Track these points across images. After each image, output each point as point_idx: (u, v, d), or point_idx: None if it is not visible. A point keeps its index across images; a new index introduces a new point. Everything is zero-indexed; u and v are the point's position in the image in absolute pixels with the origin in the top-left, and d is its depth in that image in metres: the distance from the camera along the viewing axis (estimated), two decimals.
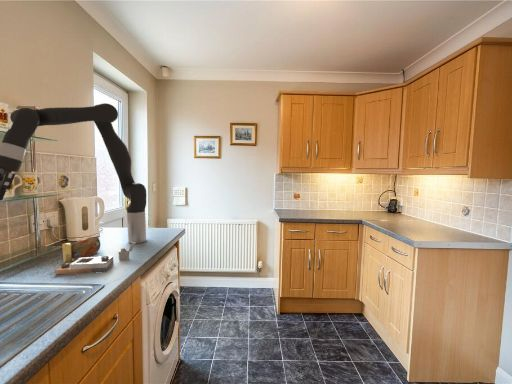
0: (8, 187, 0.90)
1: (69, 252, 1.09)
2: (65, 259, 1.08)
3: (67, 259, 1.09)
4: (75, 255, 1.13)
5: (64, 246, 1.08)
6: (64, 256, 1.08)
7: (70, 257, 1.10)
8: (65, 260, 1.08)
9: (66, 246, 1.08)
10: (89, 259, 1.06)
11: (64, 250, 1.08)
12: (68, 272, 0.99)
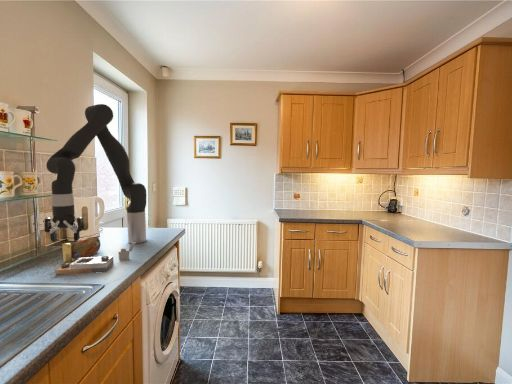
0: (83, 229, 1.10)
1: (69, 252, 1.09)
2: (65, 259, 1.08)
3: (67, 259, 1.09)
4: (75, 255, 1.13)
5: (64, 246, 1.08)
6: (64, 256, 1.08)
7: (70, 257, 1.10)
8: (65, 260, 1.08)
9: (66, 246, 1.08)
10: (89, 259, 1.06)
11: (64, 250, 1.08)
12: (68, 272, 0.99)
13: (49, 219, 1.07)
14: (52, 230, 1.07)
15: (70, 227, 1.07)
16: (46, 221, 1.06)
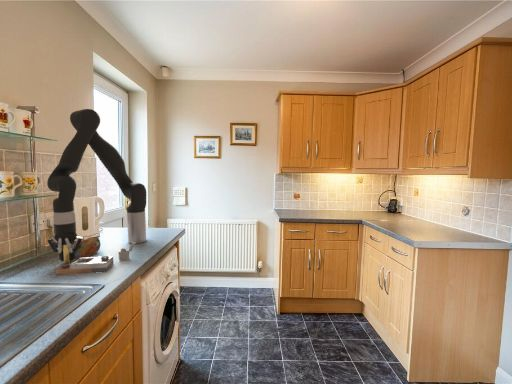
0: (79, 248, 1.11)
1: (69, 252, 1.09)
2: (65, 259, 1.08)
3: (67, 259, 1.09)
4: None
5: (64, 246, 1.08)
6: (64, 256, 1.08)
7: None
8: (65, 260, 1.08)
9: (66, 246, 1.08)
10: (89, 259, 1.06)
11: (64, 250, 1.08)
12: (68, 272, 0.99)
13: (52, 239, 1.08)
14: (60, 249, 1.08)
15: (68, 246, 1.08)
16: (50, 242, 1.07)
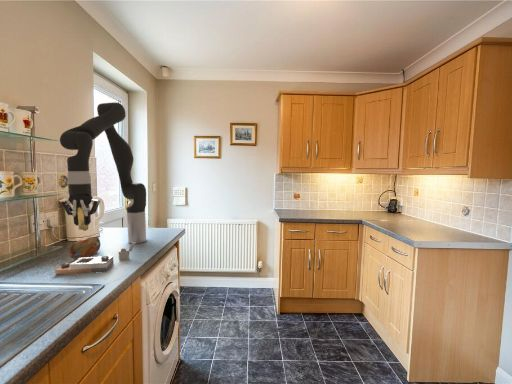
0: (94, 212, 1.03)
1: None
2: (80, 223, 1.00)
3: (82, 223, 1.00)
4: (75, 255, 1.13)
5: (79, 209, 1.00)
6: (79, 220, 1.00)
7: None
8: (80, 224, 1.00)
9: (81, 209, 1.00)
10: (89, 259, 1.06)
11: (79, 213, 1.00)
12: (68, 272, 0.99)
13: (65, 201, 1.00)
14: (74, 212, 1.00)
15: (84, 208, 1.00)
16: (64, 204, 0.99)
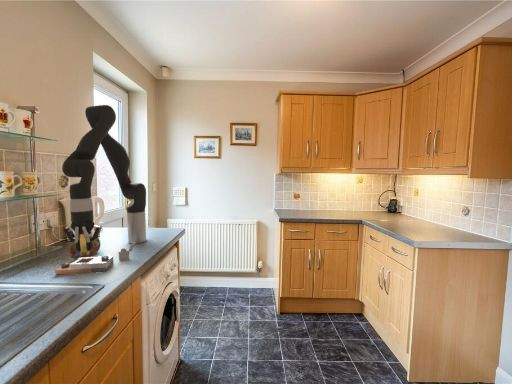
0: (96, 238, 1.04)
1: (86, 242, 1.02)
2: (82, 249, 1.01)
3: (84, 249, 1.02)
4: (75, 255, 1.13)
5: (81, 235, 1.01)
6: (81, 246, 1.01)
7: None
8: (82, 250, 1.01)
9: (83, 235, 1.01)
10: (89, 259, 1.06)
11: (81, 240, 1.01)
12: (68, 272, 0.99)
13: (68, 228, 1.01)
14: (76, 239, 1.01)
15: (86, 235, 1.01)
16: (66, 231, 1.00)
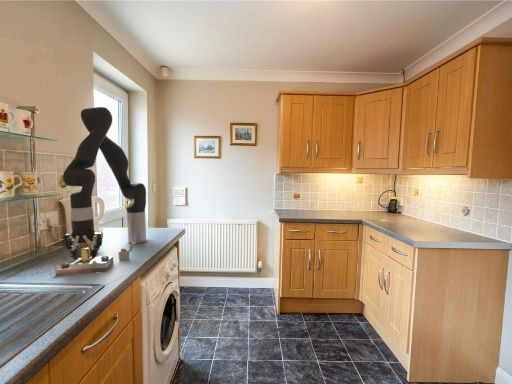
0: (101, 245, 1.04)
1: (88, 257, 1.03)
2: None
3: None
4: None
5: (83, 251, 1.02)
6: (83, 262, 1.02)
7: None
8: None
9: (85, 251, 1.02)
10: None
11: (83, 255, 1.02)
12: (68, 272, 0.99)
13: (68, 235, 1.01)
14: (74, 247, 1.01)
15: (89, 243, 1.01)
16: (65, 238, 1.00)
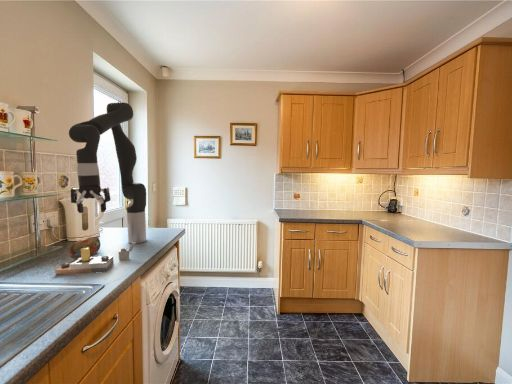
0: (109, 199, 1.08)
1: (88, 257, 1.03)
2: None
3: None
4: (75, 255, 1.13)
5: (83, 251, 1.02)
6: (83, 262, 1.02)
7: None
8: None
9: (85, 251, 1.02)
10: None
11: (83, 255, 1.02)
12: (68, 272, 0.99)
13: (75, 189, 1.04)
14: (79, 201, 1.04)
15: (97, 197, 1.05)
16: (72, 191, 1.03)
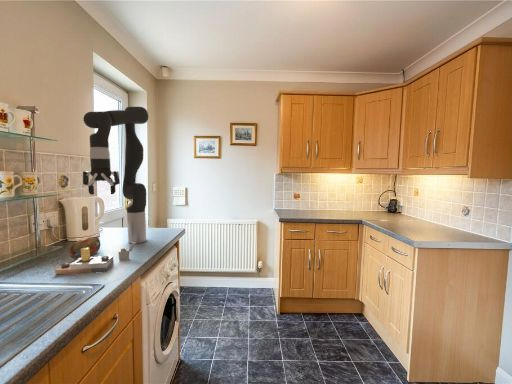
0: (119, 182, 1.14)
1: (88, 257, 1.03)
2: None
3: None
4: (75, 255, 1.13)
5: (83, 251, 1.02)
6: (83, 262, 1.02)
7: None
8: None
9: (85, 251, 1.02)
10: None
11: (83, 255, 1.02)
12: (68, 272, 0.99)
13: (87, 172, 1.11)
14: (90, 183, 1.11)
15: (107, 180, 1.11)
16: (84, 174, 1.10)
